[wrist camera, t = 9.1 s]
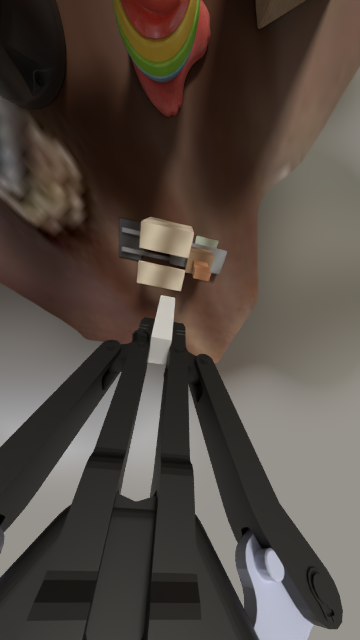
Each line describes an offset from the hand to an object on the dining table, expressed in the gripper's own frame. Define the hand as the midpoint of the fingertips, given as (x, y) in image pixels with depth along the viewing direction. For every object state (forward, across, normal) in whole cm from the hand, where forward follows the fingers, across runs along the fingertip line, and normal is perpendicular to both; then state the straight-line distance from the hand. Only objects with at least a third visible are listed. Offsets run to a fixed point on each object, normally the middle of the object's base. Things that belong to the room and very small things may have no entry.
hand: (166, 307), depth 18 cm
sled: (+25, +5, 0) cm, 25 cm away
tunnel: (+26, -2, 0) cm, 26 cm away
